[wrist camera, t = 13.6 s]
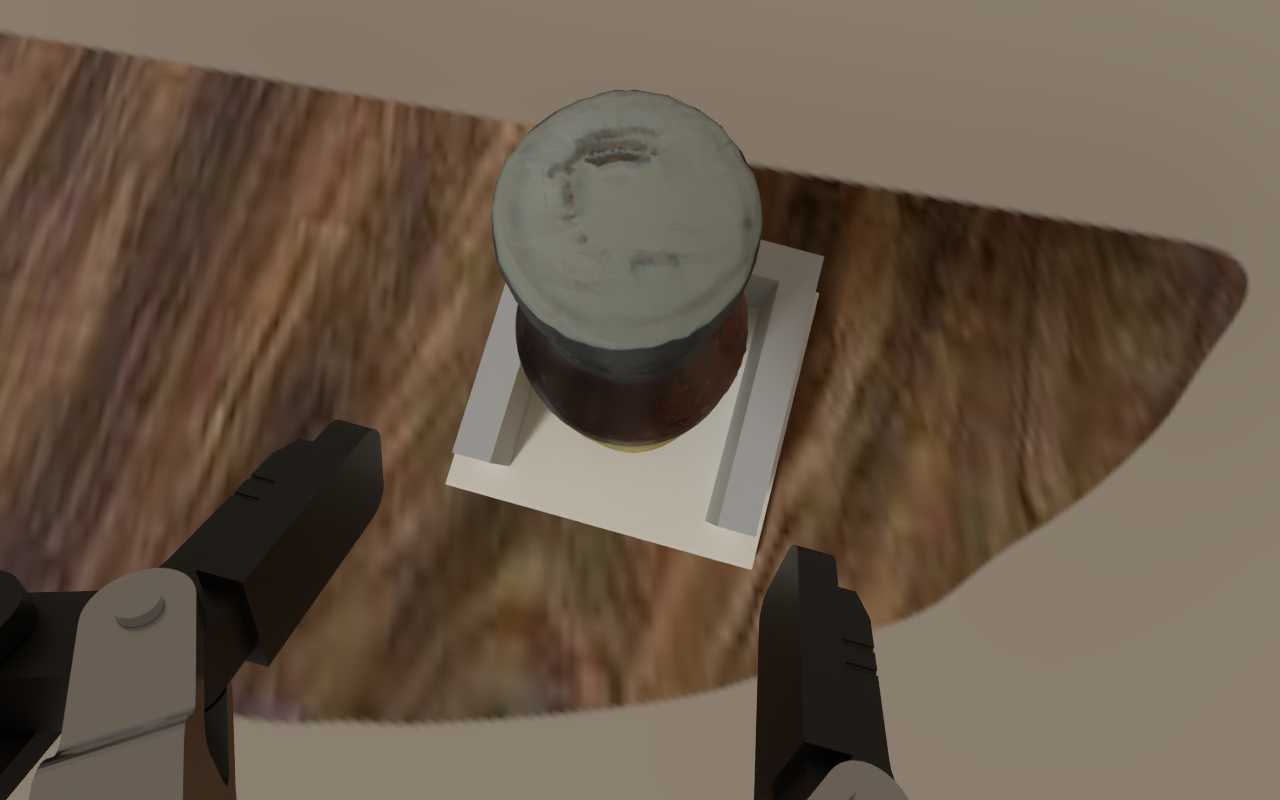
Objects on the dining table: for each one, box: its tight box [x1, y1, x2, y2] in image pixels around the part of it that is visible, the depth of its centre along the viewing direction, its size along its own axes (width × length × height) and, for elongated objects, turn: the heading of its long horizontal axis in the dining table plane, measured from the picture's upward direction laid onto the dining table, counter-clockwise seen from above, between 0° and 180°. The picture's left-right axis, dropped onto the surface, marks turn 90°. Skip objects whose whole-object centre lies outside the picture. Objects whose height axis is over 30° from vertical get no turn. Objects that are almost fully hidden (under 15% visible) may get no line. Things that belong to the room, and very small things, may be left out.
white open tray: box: [446, 240, 824, 570], centre depth 27 cm, size 14×13×5 cm
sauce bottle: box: [491, 90, 763, 453], centre depth 19 cm, size 7×6×20 cm
